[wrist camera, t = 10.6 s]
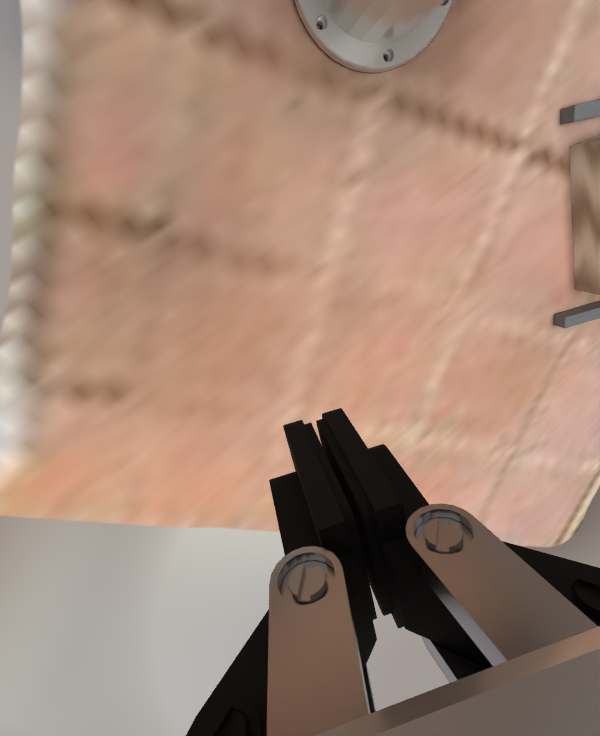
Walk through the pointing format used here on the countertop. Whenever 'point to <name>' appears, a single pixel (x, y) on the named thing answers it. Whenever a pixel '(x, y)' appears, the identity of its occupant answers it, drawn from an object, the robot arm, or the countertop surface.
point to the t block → (586, 213)
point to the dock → (596, 308)
